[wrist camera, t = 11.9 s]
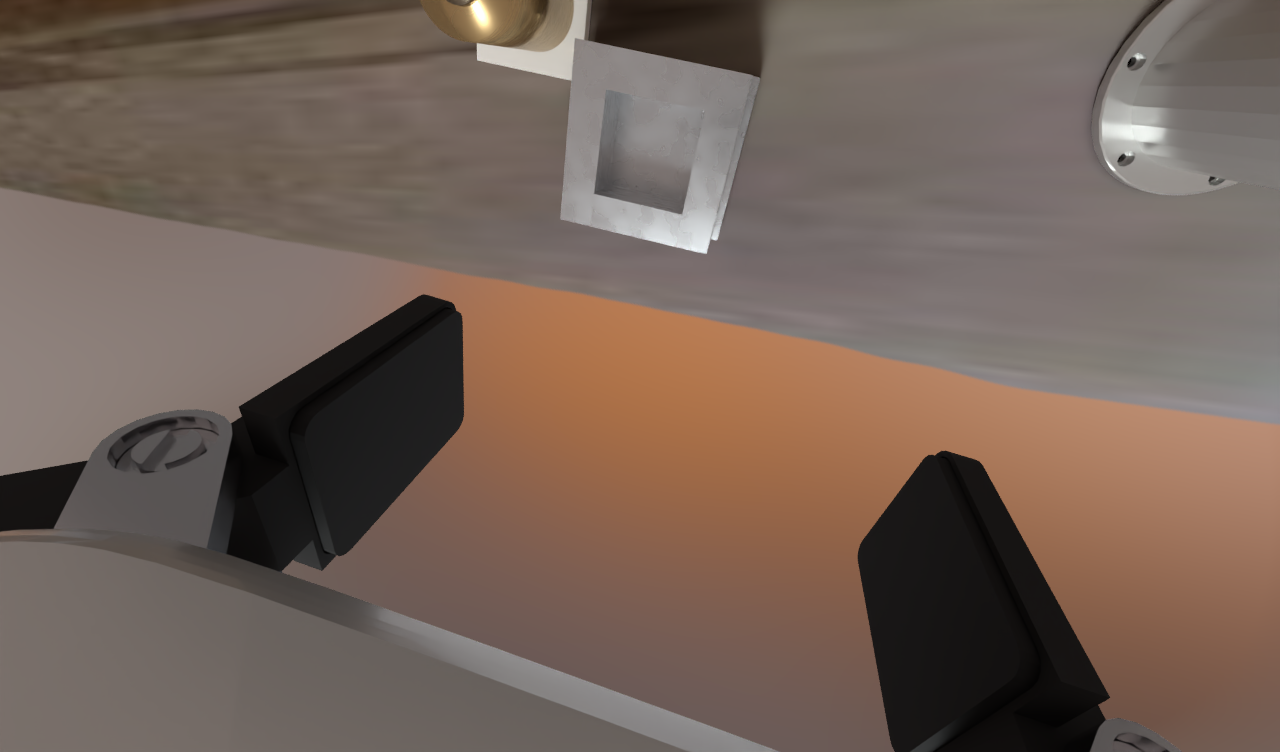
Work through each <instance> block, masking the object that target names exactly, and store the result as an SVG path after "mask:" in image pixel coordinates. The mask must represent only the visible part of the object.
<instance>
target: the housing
mask: <svg viewBox="0 0 1280 752" xmlns="http://www.w3.org/2000/svg"><path fill="white" fill-rule="evenodd" d="M759 81H760V77H755V76H753V75H750V74H745V73H740V72H735V71H731V70H726V69H721V68H716V67H711V66H707V65H702V64H697V63H692V62H687V61H683V60H678V59H673V58H668V57H663V56H659V55H654V54H649V53H644V52H640V51H635V50H630V49H625V48H620V47H616V46H611V45H606V44H601V43H596V42H592V41H587V40H582V39H577V38H575V42H574V55H573V67H572V80H571V92H570V105H569V118H568V130H567V143H566V155H565V168H564V180H563V193H562V205H561V218H560V219H562V220H566V221H570V222H575V223H579V224H583V225H587V226H591V227H595V228H600V229H604V230H608V231H612V232H616V233H620V234H624V235H629V236H633V237H637V238H641V239H645V240H649V241H654V242H658V243H662V244H666V245H670V246H674V247H678V248H683V249H687V250H691V251H695V252H699V253H703V254H706V253H707V250H708V247H709V243H710V240H711V239H713V240H717V238H718V235H719V231H720V227H721V223H722V220H723V216H724V212H725V208H726V205H727V201H728V197H729V193H730V190H731V186H732V182H733V178H734V175H735V171H736V167H737V164H738V160H739V156H740V152H741V149H742V145H743V141H744V137H745V134H746V130H747V126H748V122H749V119H750V115H751V111H752V107H753V104H754V100H755V96H756V92H757V89H758V85H759Z"/></svg>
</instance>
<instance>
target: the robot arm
mask: <svg viewBox="0 0 1280 752" xmlns="http://www.w3.org/2000/svg"><path fill="white" fill-rule="evenodd" d="M1130 58H1131V60H1132V61H1131V63H1130V65H1129V66H1127V64H1128V61H1129V60H1130ZM1091 133H1092V140H1093V146H1094V150H1095V152H1096V154H1097V156H1098V158H1099V161H1100V163H1101V164H1102V166H1103V167H1104V168H1105V169H1106V170H1107V171H1108V172H1109V173H1110V175H1111V176H1112V177H1114V178H1116V179H1117V180H1119V181H1120V182H1122V183H1123V184H1125V185H1127V186H1130V187H1133V188H1136V189H1139V190H1142V191H1146V192H1150V193H1155V194H1160V195H1191V194H1198V193H1206V192H1210V191H1214V190H1218V189H1221V188H1225V187H1228V186H1232V185H1235V184H1237V183H1240V182H1241V183H1246V184H1251V185H1256V186H1261V187H1266V188H1271V189H1276V190H1280V0H1165V1H1163V2H1162V3H1161V4H1160V5H1159V6H1158V7H1157V8H1156V9H1155V10H1154V11H1153V12H1152V13H1150V14H1149V15H1148V16H1147V17H1146V18H1145V19H1144V20H1143V21H1142V23H1141V24H1140V25H1139V26H1138V27H1137V29H1136V30H1135V31H1134V32H1133V33H1132V34H1131V36H1130V37H1129V38H1128V39H1127V40H1126V41H1125V43H1124V44H1123V46H1122V47H1121V49H1120V50H1119V52H1118V53H1117V55H1116V57H1115V58H1114V60H1113V61H1112V63H1111V64H1110V66H1109V68H1108V70H1107V72H1106V74H1105V76H1104V79H1103V81H1102V83H1101V85H1100V87H1099V90H1098V93H1097V97H1096V100H1095V104H1094V107H1093V112H1092V125H1091ZM1121 155H1122V156H1121ZM1120 156H1121V158H1120V159H1119V160H1118V158H1119V157H1120ZM462 329H463V325H462V316H461V313H459V312H457V311H456V308H455V306H454V304H453V303H452V302H449V301H445V300H442V299H438V298H435V297H432V296H429V295H421V296H419V297H417V298H415V299H414V300H412V301H410V302H409V303H407V304H405V305H404V306H402V307H401V308H399V309H397V310H396V311H394V312H393V313H391V314H389V315H388V316H386V317H384V318H383V319H381V320H379V321H378V322H376V323H375V324H373V325H371V326H370V327H368V328H366V329H365V330H363V331H362V332H360V333H358V334H357V335H355V336H354V337H352V338H350V339H349V340H347V341H345V342H344V343H342V344H340V345H339V346H337V347H335V348H334V349H332V350H331V351H329V352H328V353H326V354H324V355H322V356H321V357H319V358H318V359H316V360H314V361H313V362H311V363H309V364H308V365H306V366H305V367H303V368H301V369H300V370H298V371H296V372H295V373H293V374H291V375H290V376H288V377H287V378H285V379H283V380H282V381H280V382H278V383H277V384H275V385H273V386H272V387H270V388H269V389H267V390H265V391H264V392H262V393H261V394H259V395H257V396H256V397H254V398H252V399H251V400H249V401H247V402H246V403H244V404H243V405H241V406H239V409H240V412H241V414H242V417H241V418H239V419H237V420H236V421H234V422H233V423H230V422H229V421H228V420H227V419H226V418H225V417H224V416H221V415H219V414H217V413H215V412H211V411H204V410H176V411H170V412H164V413H159V414H155V415H152V416H149V417H145V418H142V419H139V420H136V421H134V422H132V423H130V424H128V425H126V426H124V427H122V428H120V429H117V430H116V431H115V432H113V433H112V434H110V435H109V436H108V437H106V438H105V439H103V440H102V441H101V442H100V444H99V445H98V446H97V447H96V449H95V450H94V451H93V452H92V454H91V456H90V458H89V460H88V461H83V462H77V463H72V464H66V465H60V466H54V467H48V468H43V469H38V470H32V471H26V472H20V473H15V474H9V475H3V476H0V752H779V751H776V750H774V749H771V748H768V747H765V746H763V745H760V744H757V743H754V742H752V741H749V740H747V739H744V738H741V737H739V736H735V735H733V734H730V733H728V732H725V731H722V730H720V729H717V728H714V727H711V726H709V725H706V724H703V723H700V722H698V721H695V720H692V719H689V718H687V717H684V716H681V715H678V714H676V713H673V712H670V711H667V710H665V709H662V708H659V707H656V706H653V705H651V704H648V703H646V702H643V701H640V700H637V699H635V698H632V697H629V696H626V695H624V694H621V693H618V692H615V691H613V690H610V689H607V688H604V687H602V686H599V685H596V684H593V683H591V682H588V681H585V680H582V679H580V678H577V677H574V676H571V675H568V674H566V673H562V672H560V671H557V670H555V669H552V668H549V667H546V666H544V665H541V664H538V663H535V662H533V661H530V660H527V659H524V658H522V657H519V656H516V655H513V654H511V653H508V652H505V651H502V650H499V649H497V648H494V647H491V646H488V645H486V644H483V643H480V642H477V641H474V640H472V639H469V638H466V637H463V636H460V635H458V634H455V633H452V632H449V631H447V630H443V629H441V628H438V627H435V626H432V625H430V624H427V623H424V622H421V621H419V620H416V619H413V618H410V617H407V616H404V615H402V614H399V613H396V612H393V611H390V610H388V609H385V608H382V607H379V606H376V605H374V604H371V603H368V602H365V601H363V600H360V599H357V598H354V597H351V596H349V595H346V594H343V593H340V592H337V591H335V590H332V589H329V588H326V587H323V586H320V585H317V584H314V583H311V582H308V581H305V580H302V579H299V578H296V577H293V576H290V575H287V574H284V573H282V570H283V569H284V568H285V567H286V566H287V565H288V564H289V563H290V562H291V561H292V560H293V559H294V561H297V562H299V563H302V564H305V565H308V566H310V567H313V568H316V569H319V570H321V571H322V570H323V569H324V568H325V567H326V566H327V565H328V564H329V563H330V562H331V560H332V559H333V558H334V557H335V556H336V555H338V556H342V555H344V554H346V553H347V552H348V551H349V550H350V549H351V548H353V546H354V545H355V544H356V543H357V542H358V541H359V540H360V539H361V537H362V536H363V535H364V534H365V533H366V532H367V531H368V530H369V529H370V527H371V526H372V525H373V524H374V523H375V522H376V521H377V520H378V519H379V517H380V516H381V515H382V514H383V513H384V512H385V511H386V510H387V509H388V507H389V506H390V505H391V504H392V503H393V502H394V501H395V500H396V498H397V497H398V496H399V495H400V494H401V493H402V492H403V491H404V490H405V488H406V487H407V486H408V485H409V484H410V483H411V482H412V481H413V479H414V478H415V477H416V476H417V475H418V474H419V473H420V472H421V470H422V469H423V468H424V467H425V466H426V465H427V464H428V463H429V462H430V460H431V459H432V458H433V457H434V456H435V455H436V454H437V453H438V451H439V450H440V449H441V448H442V447H443V446H444V445H445V444H446V443H447V442H448V440H449V439H450V438H451V437H452V436H453V435H454V434H455V433H456V431H457V430H458V429H459V427H460V425H461V423H462V421H463V417H464V394H463V393H464V392H463V330H462ZM858 564H859V569H860V575H861V581H862V586H863V592H864V597H865V603H866V608H867V614H868V619H869V625H870V630H871V636H872V641H873V647H874V653H875V658H876V664H877V669H878V675H879V680H880V686H881V691H882V697H883V702H884V708H885V713H886V719H887V724H888V730H889V736H890V740H891V744H892V747H893V749H894V751H895V752H1181V751H1180V750H1179V749H1178V748H1177V747H1175V746H1174V745H1172V744H1171V743H1170V742H1168V741H1167V740H1165V739H1164V738H1163V737H1161V736H1160V735H1159V734H1157V733H1155V732H1153V731H1152V730H1150V729H1147V728H1146V727H1144V726H1142V725H1140V724H1138V723H1136V722H1132V721H1128V720H1124V719H1121V718H1115V719H1109V720H1106V719H1105V717H1104V716H1103V714H1102V712H1101V710H1100V708H1099V706H1098V704H1100V703H1102V702H1104V701H1106V700H1107V699H1109V698H1110V696H1109V695H1108V693H1107V691H1106V689H1105V688H1104V686H1103V684H1102V682H1101V680H1100V678H1099V677H1098V675H1097V673H1096V671H1095V669H1094V668H1093V666H1092V664H1091V662H1090V660H1089V658H1088V656H1087V655H1086V653H1085V651H1084V649H1083V647H1082V646H1081V644H1080V642H1079V640H1078V639H1077V636H1076V635H1075V633H1074V631H1073V629H1072V628H1071V625H1070V624H1069V622H1068V620H1067V618H1066V616H1065V615H1064V613H1063V611H1062V609H1061V607H1060V605H1059V604H1058V602H1057V600H1056V598H1055V596H1054V594H1053V593H1052V591H1051V589H1050V587H1049V586H1048V584H1047V582H1046V580H1045V578H1044V576H1043V575H1042V573H1041V571H1040V569H1039V567H1038V565H1037V564H1036V562H1035V560H1034V558H1033V556H1032V554H1031V553H1030V551H1029V549H1028V547H1027V545H1026V543H1025V542H1024V540H1023V538H1022V536H1021V534H1020V533H1019V531H1018V529H1017V527H1016V525H1015V523H1014V522H1013V520H1012V518H1011V516H1010V514H1009V513H1008V511H1007V509H1006V507H1005V505H1004V503H1003V502H1002V500H1001V498H1000V496H999V494H998V492H997V491H996V489H995V487H994V485H993V483H992V482H991V480H990V478H989V476H988V474H987V472H986V471H985V469H984V467H983V465H982V464H981V463H980V462H979V461H977V460H974V459H971V458H968V457H965V456H961V455H958V454H955V453H951V452H948V451H941V452H939V453H937V454H936V455H935V456H934V455H928V456H927V457H925V458H924V459H923V461H922V462H921V463H920V465H919V466H918V467H917V469H916V470H915V471H914V473H913V474H912V475H911V477H910V478H909V479H908V481H907V482H906V484H905V485H904V486H903V487H902V489H901V490H900V491H899V493H898V494H897V495H896V497H895V498H894V500H893V501H892V502H891V503H890V505H889V506H888V507H887V509H886V510H885V511H884V513H883V514H882V515H881V517H880V518H879V519H878V521H877V522H876V523H875V525H874V526H873V527H872V529H871V530H870V532H869V533H868V534H867V536H866V537H865V538H864V539H863V541H862V542H861V544H860V548H859V551H858Z"/></svg>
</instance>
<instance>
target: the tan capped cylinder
mask: <svg viewBox="0 0 1280 752" xmlns="http://www.w3.org/2000/svg"><path fill="white" fill-rule="evenodd" d="M420 2H421V4H422V6H423V8H424V10H425V12H426V13H427V15H428V16H429V18H430V19H431V20H432V21H433V23H434V24H435V25H436V26H437V27H438V28H439V29H440V30H442V31H443V32H444V33H446V34H447V35H449V36H450V37H452V38H455V39H457V40H461V41H466V42H473V43H479V44H486V45H493V46H500V47H507V48H514V49H521V50H527V51H534V52H546V51H549V50H552V49H554V48H555V47H557V46H558V45H559V44H560V43H561V42H562V41H563V40H564V39H565V37H566V36H567V34H568V32H569V30H570V27H571V24H572V20H573V13H574V1H573V0H420Z"/></svg>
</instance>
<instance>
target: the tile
mask: <svg viewBox="0 0 1280 752" xmlns="http://www.w3.org/2000/svg"><path fill="white" fill-rule="evenodd" d="M573 1H574V13H573V20H572V24H571V27H570V30H569V32H568V34H567V36H566V37H565V39H564V40H563V41H562V42H561V43H560V44H559V45H558V46H557V47H555V48H554V49H552V50H549V51H546V52H534V51H527V50H521V49H514V48H507V47H500V46H493V45H486V44H479V43H477V60H479V61H483V62H488V63H492V64H497V65H502V66H506V67H511V68H516V69H520V70H525V71H530V72H534V73H539V74H543V75H548V76H553V77H557V78H562V79H567V80H572V67H573V55H574V42H575V38H577V39H582V40H587V41H588V40H589V29H590V18H591V7H592V0H573Z"/></svg>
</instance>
